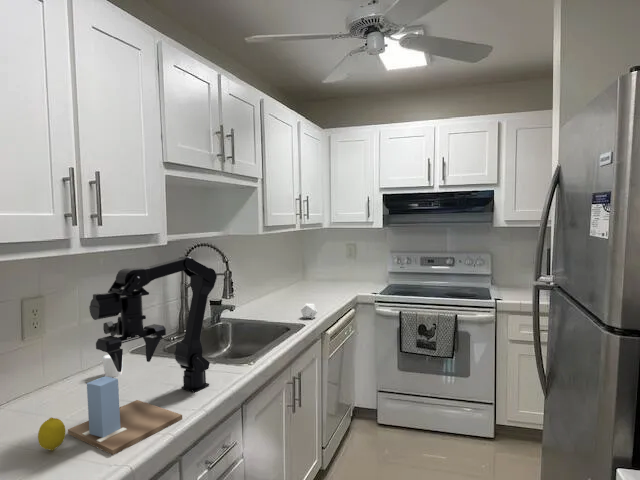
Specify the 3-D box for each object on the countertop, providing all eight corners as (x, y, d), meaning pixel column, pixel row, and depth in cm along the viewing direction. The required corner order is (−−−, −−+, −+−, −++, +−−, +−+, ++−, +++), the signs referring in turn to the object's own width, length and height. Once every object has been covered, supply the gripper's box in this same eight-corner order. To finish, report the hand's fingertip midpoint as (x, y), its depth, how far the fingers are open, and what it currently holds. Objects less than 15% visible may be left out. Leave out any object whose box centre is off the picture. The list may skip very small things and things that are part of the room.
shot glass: (105, 379, 144) (104, 360, 144) (100, 374, 150) (99, 355, 149) (126, 374, 149) (125, 355, 149) (120, 369, 154) (119, 351, 154)
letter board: (137, 403, 124) (137, 399, 124) (182, 418, 114) (182, 414, 113) (67, 433, 107) (67, 428, 107) (113, 455, 97) (112, 449, 97)
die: (306, 321, 222) (317, 307, 222) (295, 312, 226) (305, 298, 226) (312, 323, 229) (322, 309, 230) (301, 315, 233) (311, 300, 233)
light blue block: (107, 424, 109) (104, 376, 108) (120, 428, 106) (117, 378, 106) (89, 433, 104) (86, 383, 103) (103, 437, 102) (100, 386, 101)
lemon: (71, 443, 102) (69, 412, 102) (57, 456, 97) (55, 423, 96) (48, 444, 102) (46, 413, 102) (33, 457, 97) (31, 424, 96)
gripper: (143, 304, 130) (145, 353, 131) (83, 316, 114) (86, 372, 115) (166, 307, 124) (168, 358, 125) (106, 321, 109) (109, 379, 109)
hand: (134, 366), depth 119 cm, fingers open, 9 cm apart
